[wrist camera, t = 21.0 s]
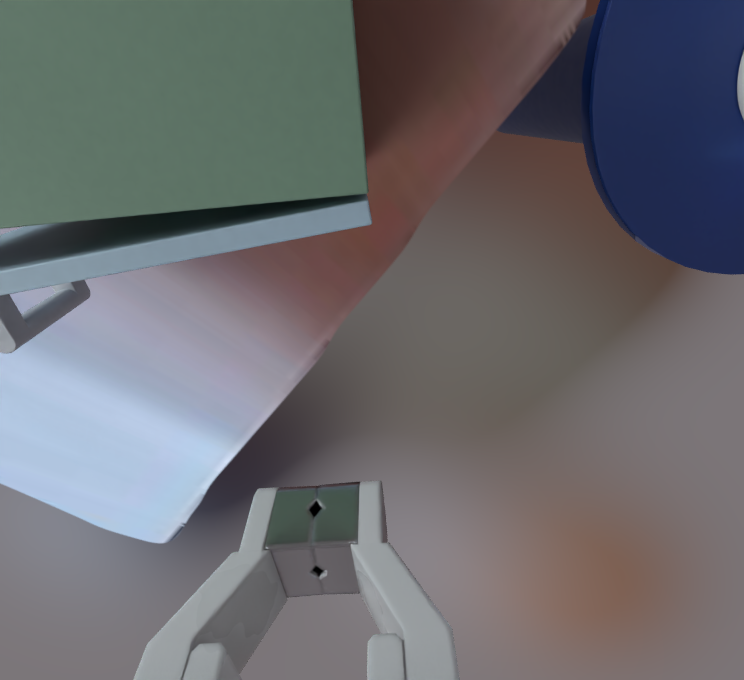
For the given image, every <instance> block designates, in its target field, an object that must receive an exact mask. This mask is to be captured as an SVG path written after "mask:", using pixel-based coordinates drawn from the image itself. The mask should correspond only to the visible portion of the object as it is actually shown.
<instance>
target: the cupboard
mask: <svg viewBox="0 0 744 680" xmlns="http://www.w3.org/2000/svg"><path fill="white" fill-rule="evenodd" d="M368 191H369V190H368V179H367V167H366V155H365V143H364V131H363V119H362V108H361V96H360V84H359V72H358V60H357V49H356V37H355V25H354V13H353V1H352V0H0V229H1V228H12V227H22V226H33V225H43V224H54V223H64V222H75V221H85V220H96V219H106V218H117V217H127V216H138V215H148V214H159V213H169V212H180V211H190V210H201V209H211V208H222V207H232V206H243V205H253V204H264V203H274V202H285V201H295V200H306V199H316V198H327V197H337V196H348V195H358V194H367V193H368Z"/></svg>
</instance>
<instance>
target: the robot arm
mask: <svg viewBox="0 0 744 680" xmlns="http://www.w3.org/2000/svg"><path fill="white" fill-rule="evenodd" d="M737 96H738V104H739V108H740V112H741V115H742V117H743V120H744V51H743V54H742V58H741V62H740V66H739V72H738V80H737ZM353 593H354V594H355V593H360V595H361V597H362V599H363V601H364V603H365V605H366V606H367V608H368V610H369V612H370V614H371V616H372V618H373V619H374V621H375V623H376V625H377V627H378V628H379V630H380V632H381V634H375V635H373V636H372V638H371V639H370V640H369V641H368V660H367V680H460V678H459V672H458V665H457V658H456V651H455V645H454V638H453V631H452V628H451V627H450V625H449V624H448V622H447V621H446V620H445V618H444V617H443V616H442V614H441V613H440V611H439V610H438V609H437V607H436V606H435V605H434V603H433V602H432V601H431V599H430V598H429V596H428V595H427V594H426V592H425V591H424V590H423V588H422V587H421V585H420V584H419V583H418V581H417V580H416V578H415V577H414V576H413V575H412V573H411V572H410V571H409V569H408V568H407V566H406V565H405V563H404V562H403V561H402V559H401V558H400V557H399V555H398V554H397V553H396V551H395V550H394V548H393V547H392V546H391V545H390V543H388V542H387V526H386V515H385V506H384V497H383V488H382V482H381V481H369V482H351V483H339V484H326V485H320V486H304V487H279V488H263V489H258V490H257V492H256V493H255V495H254V498H253V502H252V506H251V509H250V513H249V517H248V520H247V524H246V528H245V532H244V535H243V539H242V542H241V546H240V550H239V552H233V553H232V554H231V555H230V556H229V557H228V558H227V559H226V560H225V561H224V562H223V563H222V564H221V566H219V568H218V569H217V570H216V571H215V572H214V573H213V574H212V575H211V576H210V577H209V578H208V579H207V581H206V582H205V583H204V584H203V585H202V586H201V587H200V588H199V589H198V590H197V591H196V592H195V594H193V596H192V597H191V598H190V599H189V600H188V601H187V602H186V603H185V604H184V605H183V606H182V607H181V608H180V609H179V611H178V612H177V613H176V614H175V615H174V616H173V617H172V618H171V619H170V620H169V621H168V622H167V624H166V625H165V626H164V627H163V628H162V629H161V630H160V631H159V632H158V633H157V634H156V635H155V636H154V637H153V639H152V640H151V641H150V642H149V643H148V644H147V646H146V649H145V651H144V654H143V657H142V659H141V662H140V664H139V667H138V669H137V672H136V675H135V677H134V680H242V679H241V677H240V675H239V674H240V673H241V671H242V670H243V668H244V666H245V665H246V663H247V662H248V660H249V659H250V657H251V656H252V654H253V653H254V651H255V649H256V648H257V646H258V645H259V643H260V642H261V640H262V639H263V637H264V635H265V634H266V632H267V631H268V629H269V628H270V626H271V625H272V623H273V622H274V620H275V619H276V617H277V615H278V614H279V612H280V611H281V609H282V608H283V606H284V605H285V603H286V601H287V598H288V597H299V596H311V595H323V594H353Z"/></svg>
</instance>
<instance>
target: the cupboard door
mask: <svg viewBox="0 0 744 680" xmlns="http://www.w3.org/2000/svg"><path fill="white" fill-rule="evenodd" d="M371 224H372V219H371V214H370V208H369V202H368V197H367V194H358V195H348V196H337V197H327V198H316V199H306V200H295V201H285V202H274V203H264V204H253V205H243V206H232V207H222V208H211V209H201V210H190V211H180V212H169V213H159V214H148V215H138V216H127V217H117V218H106V219H96V220H85V221H75V222H64V223H54V224H43V225H33V226H25V227H22V228H19V229H16V230H13V231H11V232H8V233H5V234H2V235H0V352H1V353H11V352H13V351H15V350H16V349H18V348H19V347H20V346H22V345H23V344H25V343H26V342H28V341H29V340H30V339H32V338H33V337H35V336H36V335H37V334H39V333H40V332H42V331H43V330H44V329H46V328H47V327H49V326H50V325H52V324H53V323H54V322H56V321H57V320H59V319H60V318H61V317H63V316H64V315H66V314H67V313H68V312H70V311H71V310H73V309H74V308H76V307H77V306H78V305H80V304H81V303H83V302H84V301H85V300H87V299H88V298H89V297H90V290H89V288H88V286H87V284H86V282H85V279H91V278H96V277H101V276H106V275H111V274H117V273H122V272H127V271H132V270H137V269H143V268H148V267H153V266H158V265H164V264H169V263H174V262H179V261H184V260H190V259H195V258H200V257H205V256H210V255H216V254H221V253H226V252H231V251H236V250H242V249H247V248H252V247H257V246H263V245H268V244H273V243H278V242H283V241H289V240H294V239H299V238H304V237H309V236H315V235H320V234H325V233H330V232H336V231H341V230H346V229H351V228H356V227H362V226H367V225H371ZM49 286H52V287H53V289H54V291H55V294H53V295H52V296H50V297H48V298H47V299H45V300H44V301H42V302H40V303H39V304H37V305H35V306H34V307H32V308H30V309H29V310H27V311H26V312H24V313H22V314H21V313H20V312H19V310H18V308H17V307H16V305H15V303H14V302H13V300H12V298H11V297H10V295H9V294H12V293H18V292H23V291H28V290H33V289H38V288H44V287H49Z"/></svg>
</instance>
